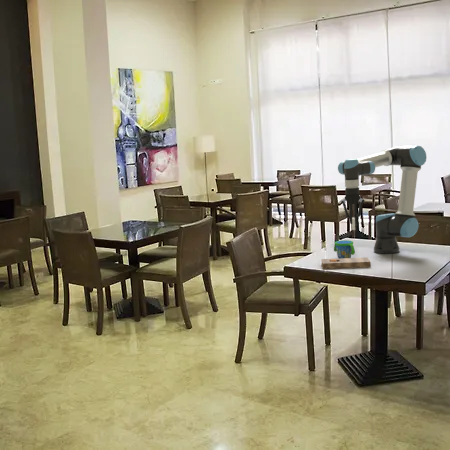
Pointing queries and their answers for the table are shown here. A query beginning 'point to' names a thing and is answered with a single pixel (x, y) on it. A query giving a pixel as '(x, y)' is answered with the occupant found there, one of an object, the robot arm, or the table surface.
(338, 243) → the snack cup
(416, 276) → the table surface
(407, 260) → the table surface
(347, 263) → the light wood flat slab
